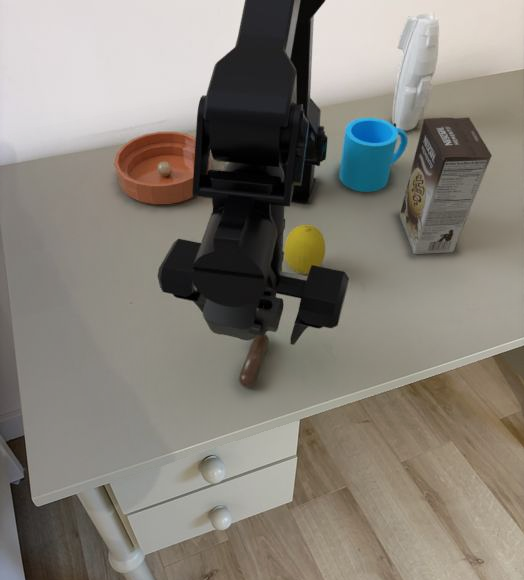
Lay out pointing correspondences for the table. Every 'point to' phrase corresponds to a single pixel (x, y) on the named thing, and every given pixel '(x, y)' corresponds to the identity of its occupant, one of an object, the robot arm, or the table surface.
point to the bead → (164, 169)
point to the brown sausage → (253, 361)
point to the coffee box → (443, 183)
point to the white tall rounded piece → (415, 70)
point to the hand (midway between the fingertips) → (254, 332)
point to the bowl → (143, 167)
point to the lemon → (304, 248)
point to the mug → (369, 153)
